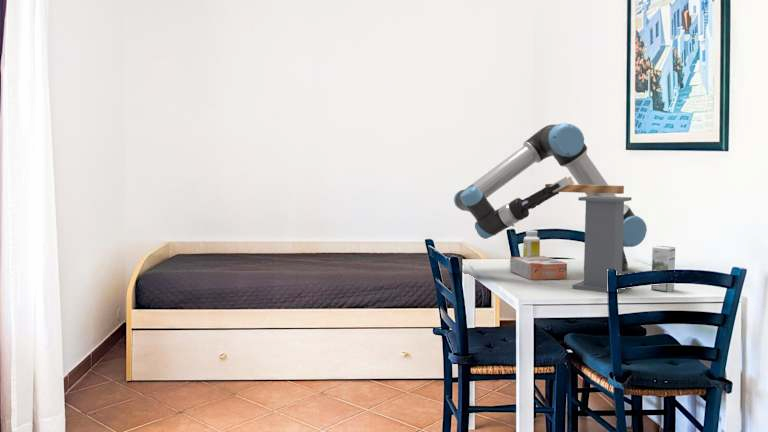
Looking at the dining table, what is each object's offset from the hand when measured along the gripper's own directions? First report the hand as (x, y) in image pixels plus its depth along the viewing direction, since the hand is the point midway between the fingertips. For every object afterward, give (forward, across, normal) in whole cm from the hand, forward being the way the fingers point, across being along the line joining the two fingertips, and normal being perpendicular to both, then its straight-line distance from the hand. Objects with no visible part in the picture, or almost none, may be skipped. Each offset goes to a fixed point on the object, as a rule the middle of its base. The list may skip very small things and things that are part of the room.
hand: (570, 180), depth 268 cm
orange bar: (+2, 0, -6) cm, 6 cm away
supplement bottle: (-47, -47, -15) cm, 68 cm away
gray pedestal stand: (-8, 0, -37) cm, 38 cm away
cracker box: (-37, -21, -16) cm, 46 cm away
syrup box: (+8, -8, -46) cm, 48 cm away
